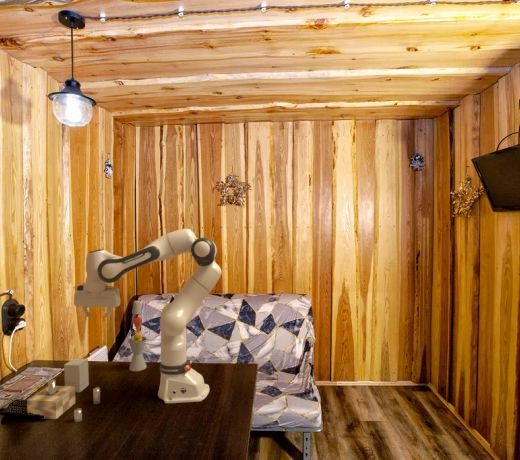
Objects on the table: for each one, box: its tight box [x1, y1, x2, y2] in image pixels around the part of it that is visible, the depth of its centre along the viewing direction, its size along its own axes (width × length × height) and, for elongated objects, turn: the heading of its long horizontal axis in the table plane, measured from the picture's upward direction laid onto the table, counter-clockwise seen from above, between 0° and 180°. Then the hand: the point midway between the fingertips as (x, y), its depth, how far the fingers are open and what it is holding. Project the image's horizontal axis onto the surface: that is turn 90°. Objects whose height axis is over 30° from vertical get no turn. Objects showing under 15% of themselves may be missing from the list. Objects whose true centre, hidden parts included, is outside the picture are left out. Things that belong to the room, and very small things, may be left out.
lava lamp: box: [127, 300, 147, 372], centre depth 183 cm, size 9×9×35 cm
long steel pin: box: [47, 379, 57, 396], centre depth 143 cm, size 3×3×12 cm
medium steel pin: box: [92, 386, 101, 405], centre depth 149 cm, size 3×3×6 cm
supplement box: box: [63, 358, 90, 393], centre depth 161 cm, size 7×7×13 cm
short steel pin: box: [73, 407, 83, 423], centre depth 136 cm, size 3×3×4 cm
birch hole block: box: [26, 385, 76, 420], centre depth 143 cm, size 12×12×7 cm
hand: (97, 316), depth 157 cm, fingers open, 8 cm apart
